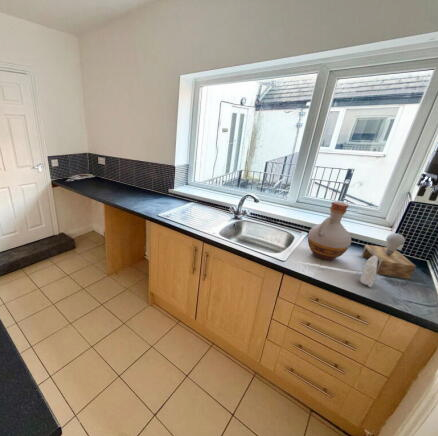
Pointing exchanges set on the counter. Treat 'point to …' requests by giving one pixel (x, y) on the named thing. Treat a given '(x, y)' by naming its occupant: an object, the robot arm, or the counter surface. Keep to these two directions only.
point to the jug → (330, 235)
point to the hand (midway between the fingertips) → (425, 198)
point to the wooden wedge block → (390, 262)
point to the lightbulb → (394, 242)
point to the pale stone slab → (369, 271)
